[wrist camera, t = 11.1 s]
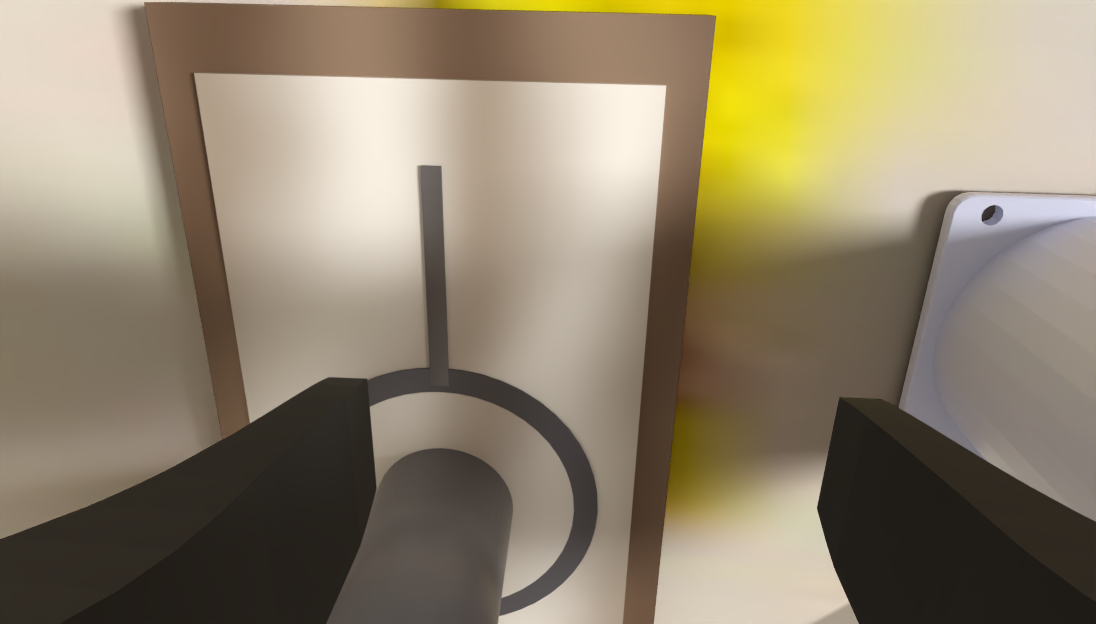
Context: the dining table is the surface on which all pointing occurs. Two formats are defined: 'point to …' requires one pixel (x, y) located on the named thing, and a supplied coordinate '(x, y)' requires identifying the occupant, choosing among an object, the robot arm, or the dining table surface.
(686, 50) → the writing board
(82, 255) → the dining table surface
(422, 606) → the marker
